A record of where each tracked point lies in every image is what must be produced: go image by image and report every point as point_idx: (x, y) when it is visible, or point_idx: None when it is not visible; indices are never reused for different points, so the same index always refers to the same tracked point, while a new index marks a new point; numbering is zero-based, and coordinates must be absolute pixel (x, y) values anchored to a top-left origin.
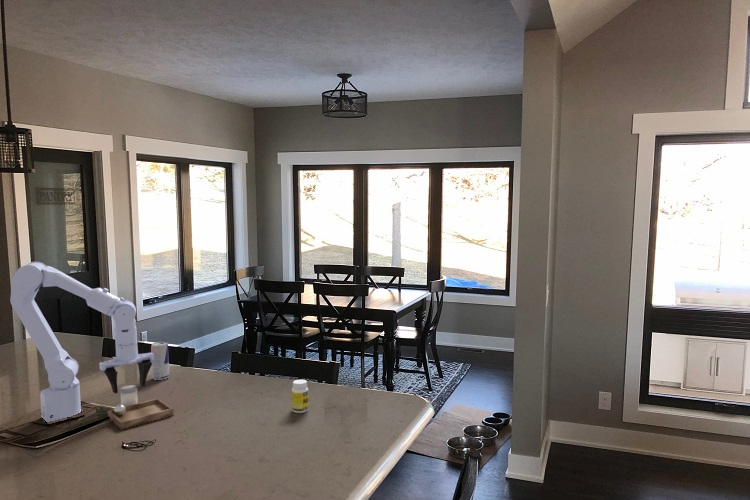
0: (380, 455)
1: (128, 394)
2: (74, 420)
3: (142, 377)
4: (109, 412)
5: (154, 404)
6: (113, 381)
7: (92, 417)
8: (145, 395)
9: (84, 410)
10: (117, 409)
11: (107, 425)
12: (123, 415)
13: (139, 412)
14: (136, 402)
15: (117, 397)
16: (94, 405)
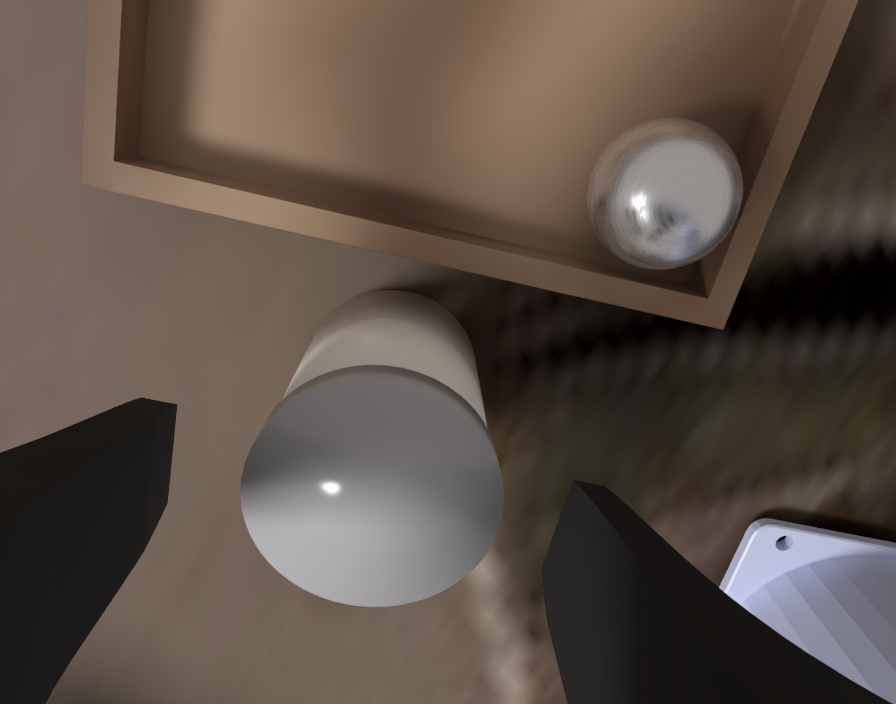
0: None
1: (443, 381)
2: (859, 507)
3: (87, 507)
4: (744, 268)
5: (183, 145)
6: (742, 613)
7: (742, 444)
8: None
9: None
10: (735, 164)
11: (836, 109)
12: None
13: (458, 55)
14: (340, 322)
15: (313, 687)
16: (542, 672)
